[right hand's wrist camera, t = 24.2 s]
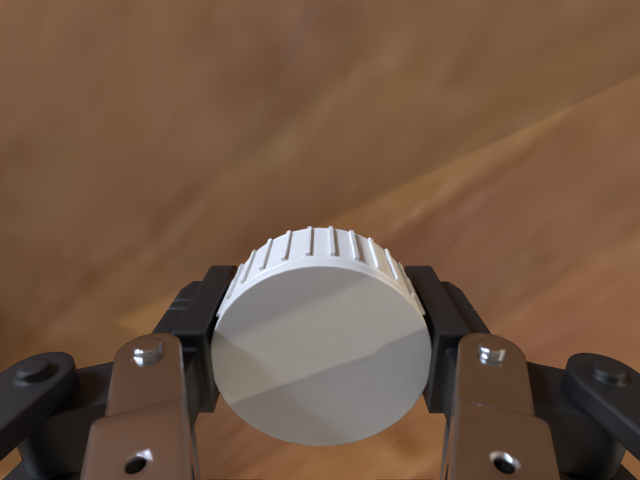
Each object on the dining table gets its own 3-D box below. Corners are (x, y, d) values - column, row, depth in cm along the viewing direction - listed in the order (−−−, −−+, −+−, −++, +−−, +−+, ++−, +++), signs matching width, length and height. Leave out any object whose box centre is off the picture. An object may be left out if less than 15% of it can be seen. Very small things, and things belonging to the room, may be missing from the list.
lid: (438, 348, 12) (464, 408, 9) (279, 404, 12) (271, 472, 10) (373, 192, 10) (388, 222, 8) (193, 270, 11) (160, 317, 8)
